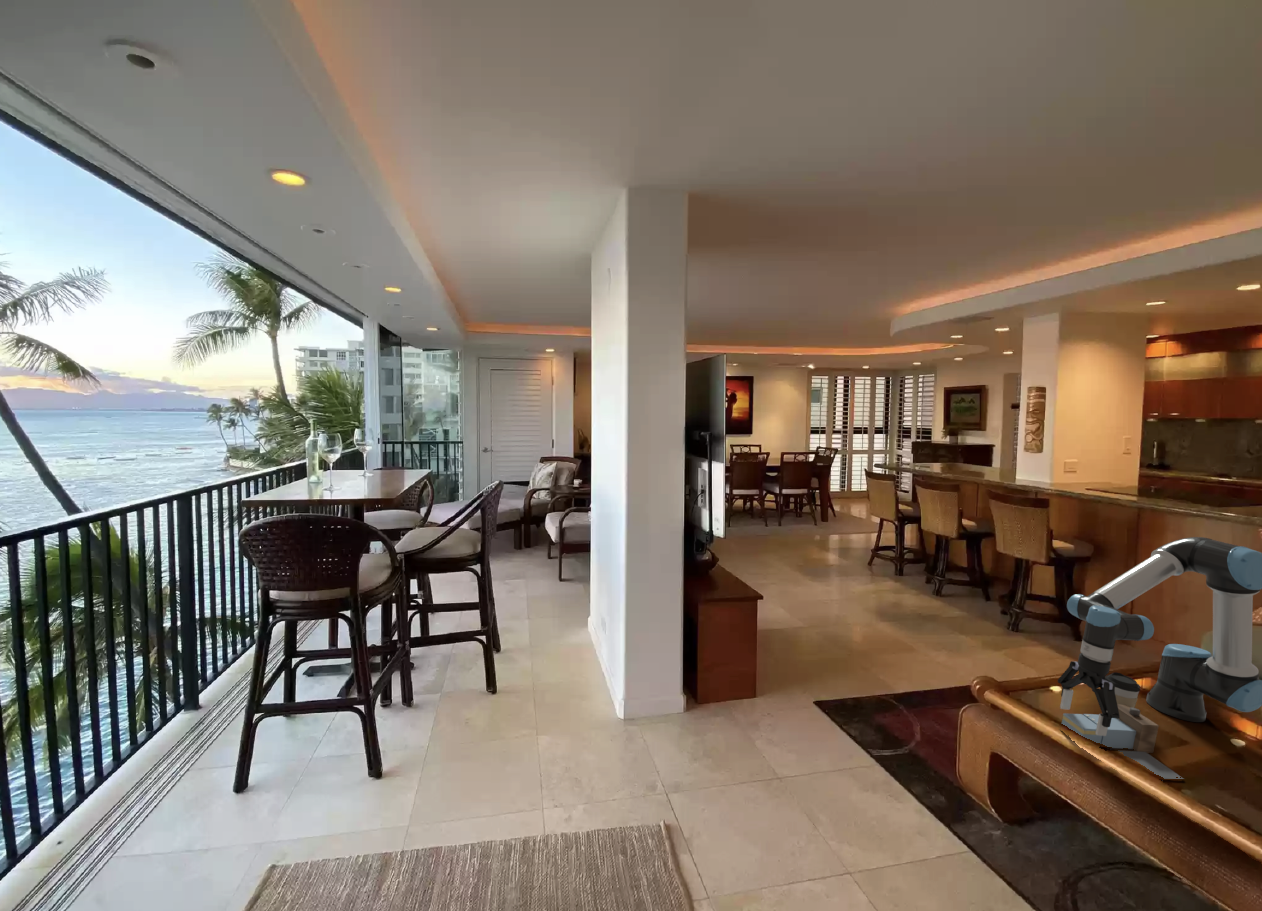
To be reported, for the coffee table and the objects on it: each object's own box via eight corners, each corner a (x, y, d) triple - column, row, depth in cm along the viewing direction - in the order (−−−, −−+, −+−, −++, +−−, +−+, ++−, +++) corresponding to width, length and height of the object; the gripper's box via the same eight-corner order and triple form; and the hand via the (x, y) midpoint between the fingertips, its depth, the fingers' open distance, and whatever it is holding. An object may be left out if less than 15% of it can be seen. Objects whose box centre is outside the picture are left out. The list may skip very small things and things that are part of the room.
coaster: (1145, 753, 171) (1145, 751, 171) (1184, 781, 160) (1184, 779, 159) (1106, 751, 171) (1107, 749, 171) (1143, 779, 159) (1144, 777, 159)
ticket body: (1122, 733, 181) (1125, 715, 181) (1145, 749, 173) (1149, 731, 173) (1079, 731, 181) (1083, 713, 180) (1101, 747, 173) (1104, 729, 172)
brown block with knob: (1120, 730, 183) (1127, 700, 182) (1152, 753, 172) (1159, 720, 171) (1105, 729, 183) (1112, 699, 181) (1137, 752, 172) (1143, 719, 170)
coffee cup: (1139, 729, 184) (1148, 686, 182) (1108, 724, 186) (1116, 681, 184) (1121, 714, 193) (1130, 673, 191) (1091, 709, 195) (1099, 668, 193)
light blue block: (1078, 731, 181) (1081, 714, 180) (1099, 747, 173) (1103, 729, 172) (1060, 730, 181) (1063, 713, 180) (1080, 747, 173) (1084, 728, 172)
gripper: (1052, 637, 185) (1040, 698, 188) (1119, 677, 161) (1104, 746, 163) (1074, 639, 186) (1062, 699, 188) (1144, 679, 161) (1129, 747, 164)
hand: (1082, 721), depth 176 cm, fingers open, 13 cm apart
